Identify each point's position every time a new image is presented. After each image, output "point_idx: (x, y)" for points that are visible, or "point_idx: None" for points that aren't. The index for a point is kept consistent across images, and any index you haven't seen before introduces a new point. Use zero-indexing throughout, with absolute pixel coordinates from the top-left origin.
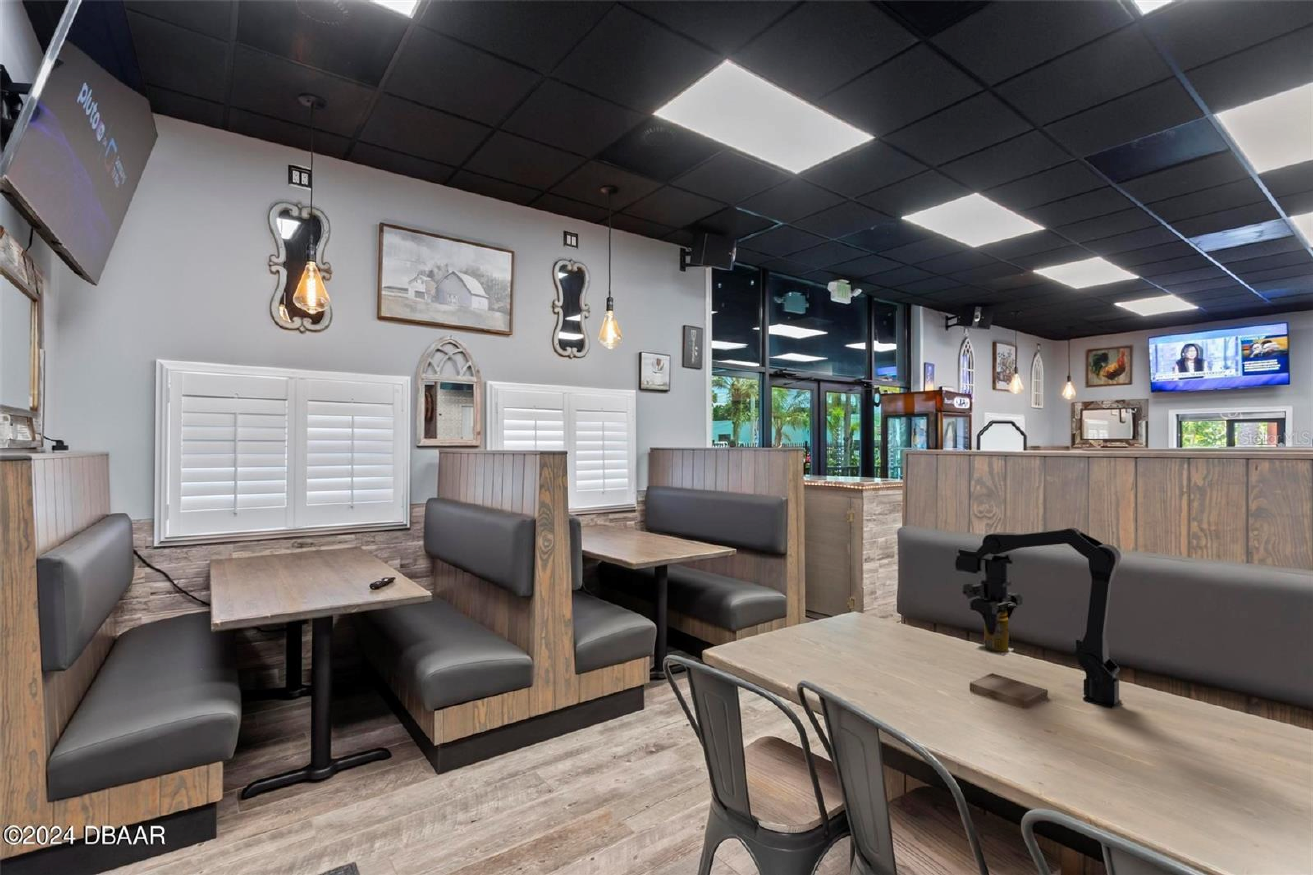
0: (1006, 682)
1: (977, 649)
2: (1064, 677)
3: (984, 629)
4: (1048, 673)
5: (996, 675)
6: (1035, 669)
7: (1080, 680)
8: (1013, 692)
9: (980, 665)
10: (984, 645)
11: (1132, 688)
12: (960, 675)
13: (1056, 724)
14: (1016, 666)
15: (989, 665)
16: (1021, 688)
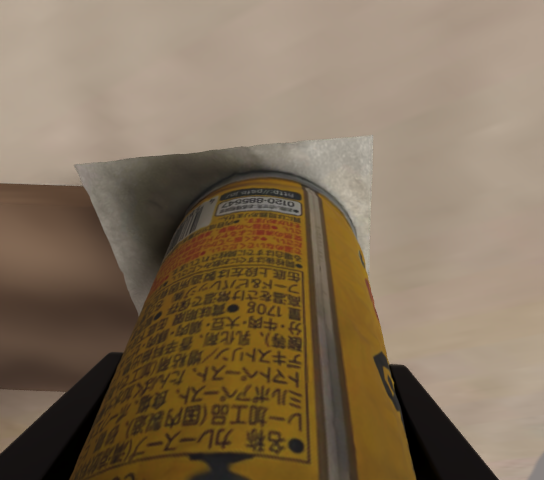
0: (95, 296)
1: (84, 178)
2: (482, 347)
3: (175, 301)
4: (496, 301)
5: None
6: (523, 252)
7: (485, 382)
8: (19, 346)
9: (366, 20)
10: (271, 159)
11: (509, 463)
12: (50, 31)
13: (10, 426)
14: (513, 178)
15: (414, 64)
16: (95, 348)
